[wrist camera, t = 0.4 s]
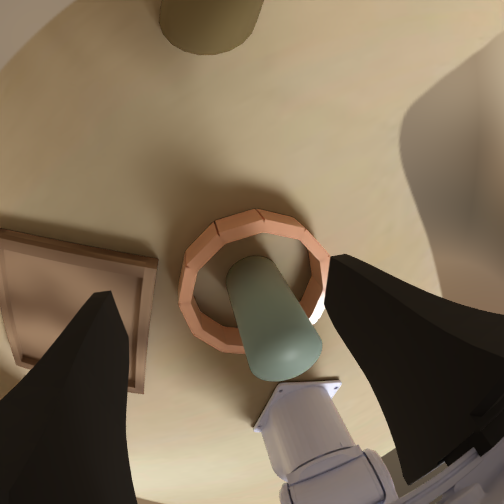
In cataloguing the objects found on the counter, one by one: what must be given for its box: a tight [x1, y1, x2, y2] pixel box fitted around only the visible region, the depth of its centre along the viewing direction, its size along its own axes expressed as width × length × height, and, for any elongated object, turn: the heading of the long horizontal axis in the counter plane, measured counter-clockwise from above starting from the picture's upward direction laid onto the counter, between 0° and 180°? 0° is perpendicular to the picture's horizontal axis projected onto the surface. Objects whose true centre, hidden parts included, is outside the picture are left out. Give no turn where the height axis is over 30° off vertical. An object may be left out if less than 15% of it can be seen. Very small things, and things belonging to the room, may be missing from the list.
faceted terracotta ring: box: [178, 209, 330, 354], centre depth 21 cm, size 11×11×2 cm
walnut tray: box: [0, 228, 158, 394], centre depth 19 cm, size 13×13×2 cm
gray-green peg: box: [226, 256, 322, 382], centre depth 18 cm, size 4×4×8 cm
